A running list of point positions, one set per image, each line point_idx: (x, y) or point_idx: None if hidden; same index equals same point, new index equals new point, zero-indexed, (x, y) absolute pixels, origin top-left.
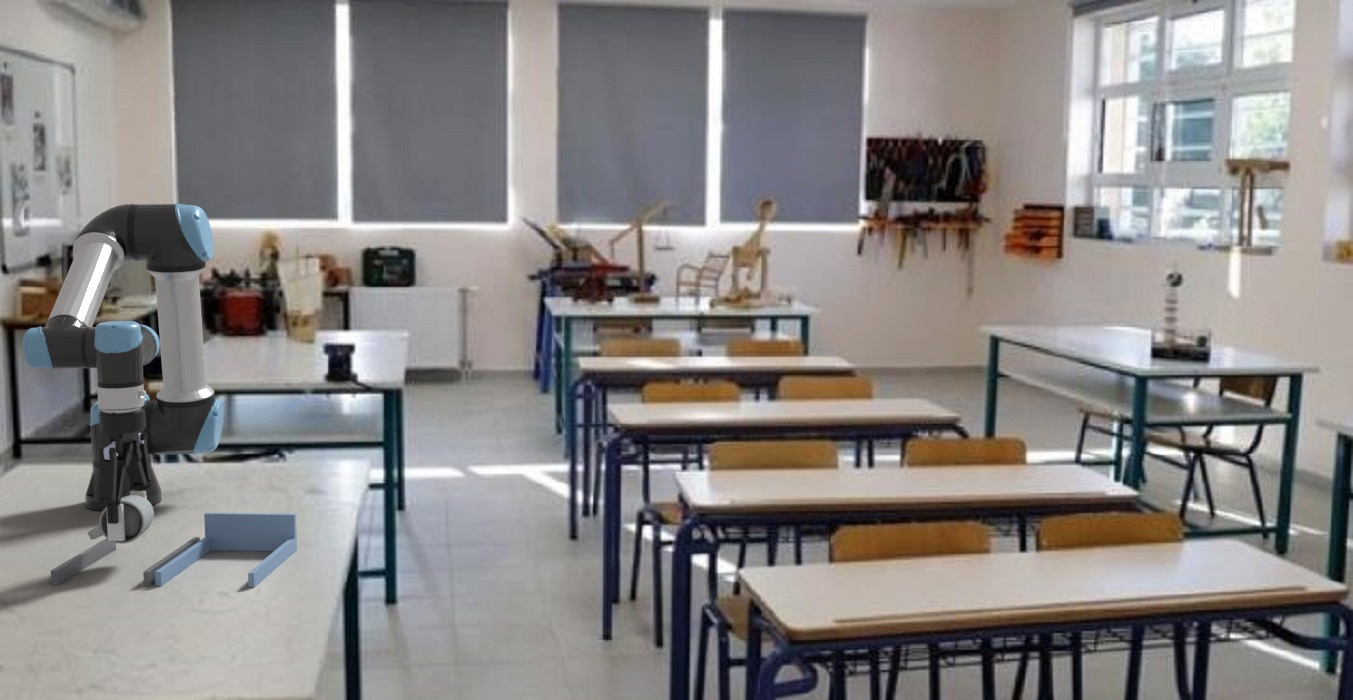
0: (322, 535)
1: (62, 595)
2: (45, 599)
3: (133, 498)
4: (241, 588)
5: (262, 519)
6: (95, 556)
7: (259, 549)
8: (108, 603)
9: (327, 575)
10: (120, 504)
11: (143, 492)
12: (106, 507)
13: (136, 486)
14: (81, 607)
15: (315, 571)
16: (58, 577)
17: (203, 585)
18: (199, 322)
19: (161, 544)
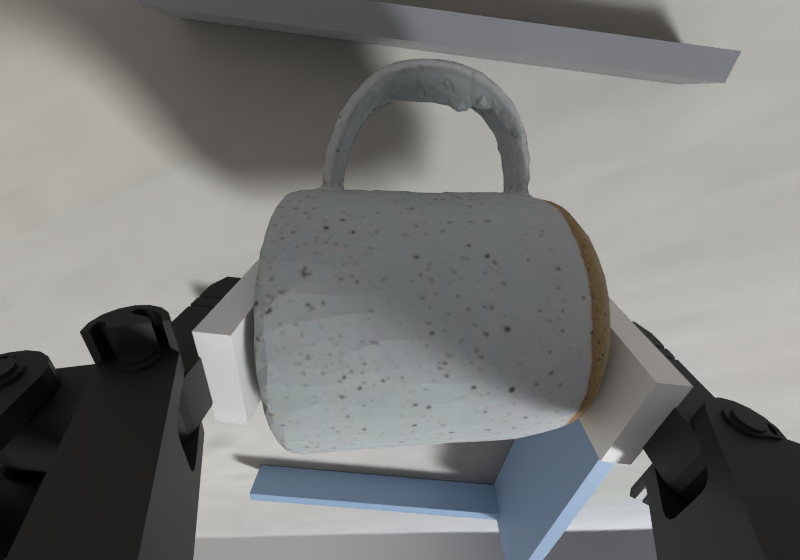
0: (596, 508)
1: (83, 100)
2: (19, 50)
3: (418, 437)
4: (254, 457)
5: (530, 534)
6: (507, 58)
7: (510, 451)
8: (78, 266)
9: (338, 529)
10: (224, 414)
11: (601, 451)
12: (208, 316)
13: (694, 452)
14: (16, 209)
15: (359, 518)
16: (179, 15)
17: (261, 407)
18: None
19: (671, 237)
